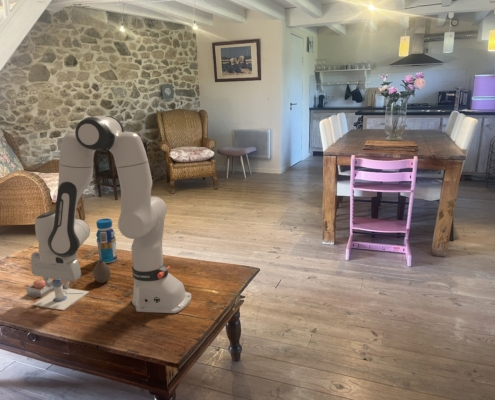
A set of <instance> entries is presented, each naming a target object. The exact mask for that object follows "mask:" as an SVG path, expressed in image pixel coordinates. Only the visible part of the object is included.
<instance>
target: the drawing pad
mask: <svg viewBox="0 0 495 400" xmlns="http://www.w3.org/2000/svg"><path fill="white" fill-rule="evenodd" d="M63 292H64V299H63V300H61V301H56V298H55V292H54V290H53V291H51V292H50V293H48V294H46V295H45V296H43V297H42V298H41V299H39V300H38V301H36V302H35V303H33V306H36V307H40V308H41V307H42V308H48V309H53V310H58V311H63V312H64V311H65V310H67V309H68V308H70V307H71V306H72V305H74V304H75V303H76V302H78V301H79V300H81V299H82V298H84V297H85V296H86V295H88V294H89V293H90V291H88V290H81V289H76V288H70V287H69V289H67V290H64V289H63Z"/></svg>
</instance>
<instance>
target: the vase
mask: <svg viewBox="0 0 495 400" xmlns="http://www.w3.org/2000/svg"><path fill="white" fill-rule="evenodd" d="M92 275H93V278H94V280H95V282H97V283H99V284H104V283H107V282H108V281H109V280H110V278H111V275H112V271H111V269H110V267H109V265H108V264H107V263H104V261H100V260H98V261H97V263H96V265H95V267H94V269H93V272H92Z"/></svg>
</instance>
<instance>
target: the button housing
mask: <svg viewBox="0 0 495 400" xmlns="http://www.w3.org/2000/svg"><path fill="white" fill-rule="evenodd" d="M25 290H26V295H27V296H31V297H37V298H41V299H42V298H44V297H45V296H47V295H49V294H50V293H52V292H53V291H54V286H52V287H47V283H46V286H45V287H43V288H41V289H36V288H34V283H32V284H31V285H29V286H27V287H26V288H25Z"/></svg>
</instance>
